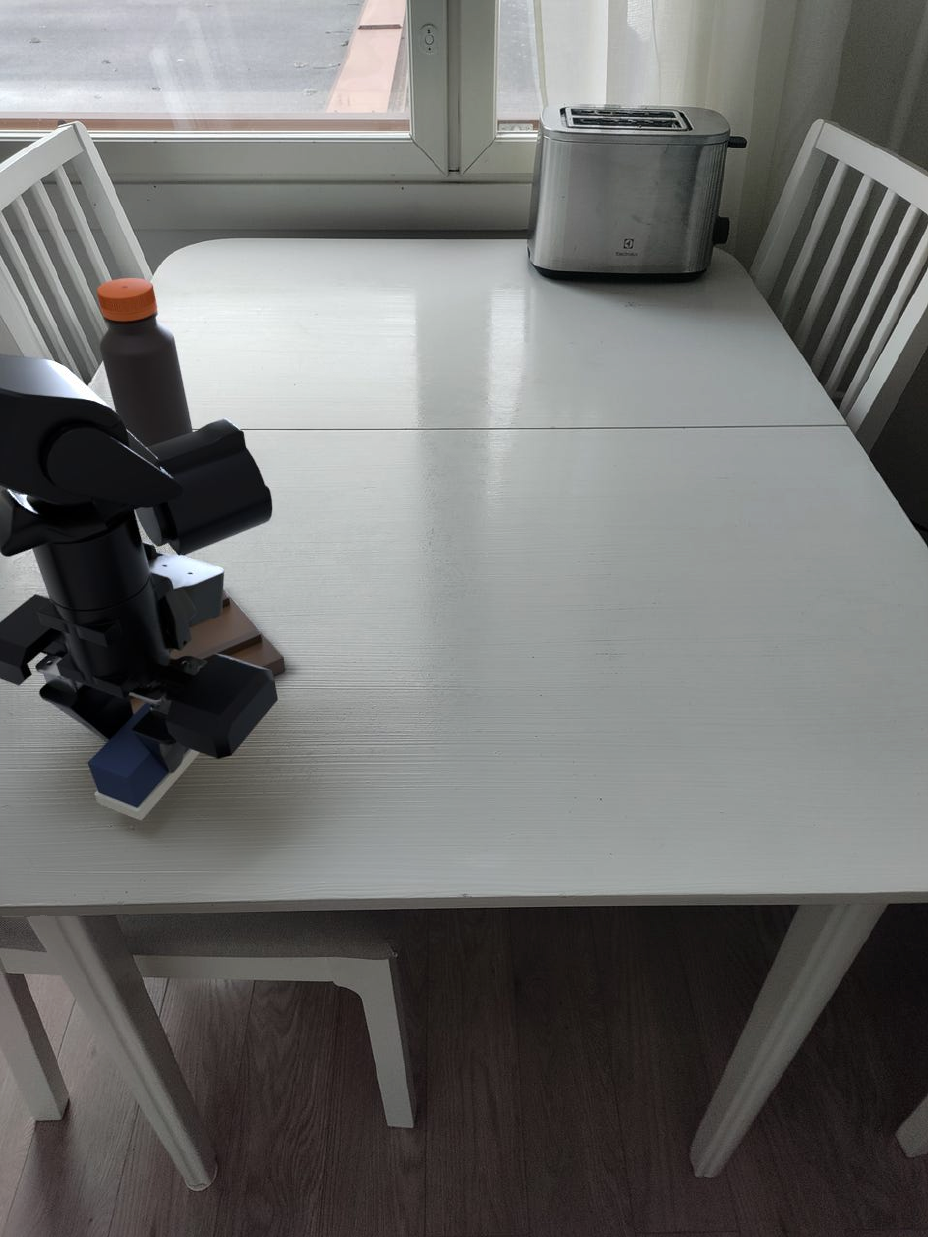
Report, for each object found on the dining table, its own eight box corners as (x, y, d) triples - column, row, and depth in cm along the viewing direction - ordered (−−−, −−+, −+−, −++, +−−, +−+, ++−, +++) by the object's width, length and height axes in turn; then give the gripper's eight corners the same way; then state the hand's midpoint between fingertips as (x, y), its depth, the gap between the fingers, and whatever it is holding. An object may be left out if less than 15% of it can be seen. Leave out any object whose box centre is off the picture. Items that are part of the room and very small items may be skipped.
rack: (117, 747, 71) (110, 726, 69) (63, 658, 78) (55, 637, 77) (286, 670, 77) (282, 649, 76) (221, 595, 85) (216, 574, 83)
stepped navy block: (141, 821, 63) (127, 781, 60) (97, 803, 64) (82, 763, 61) (212, 738, 68) (203, 698, 66) (171, 723, 69) (160, 684, 67)
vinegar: (205, 459, 102) (168, 272, 89) (196, 494, 97) (156, 301, 84) (140, 461, 102) (94, 274, 89) (128, 496, 96) (77, 303, 83)
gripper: (310, 544, 58) (332, 722, 68) (68, 476, 64) (120, 650, 74) (202, 657, 50) (244, 839, 60) (-64, 569, 56) (15, 749, 66)
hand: (153, 760), depth 65 cm, fingers closed on stepped navy block, 3 cm apart
